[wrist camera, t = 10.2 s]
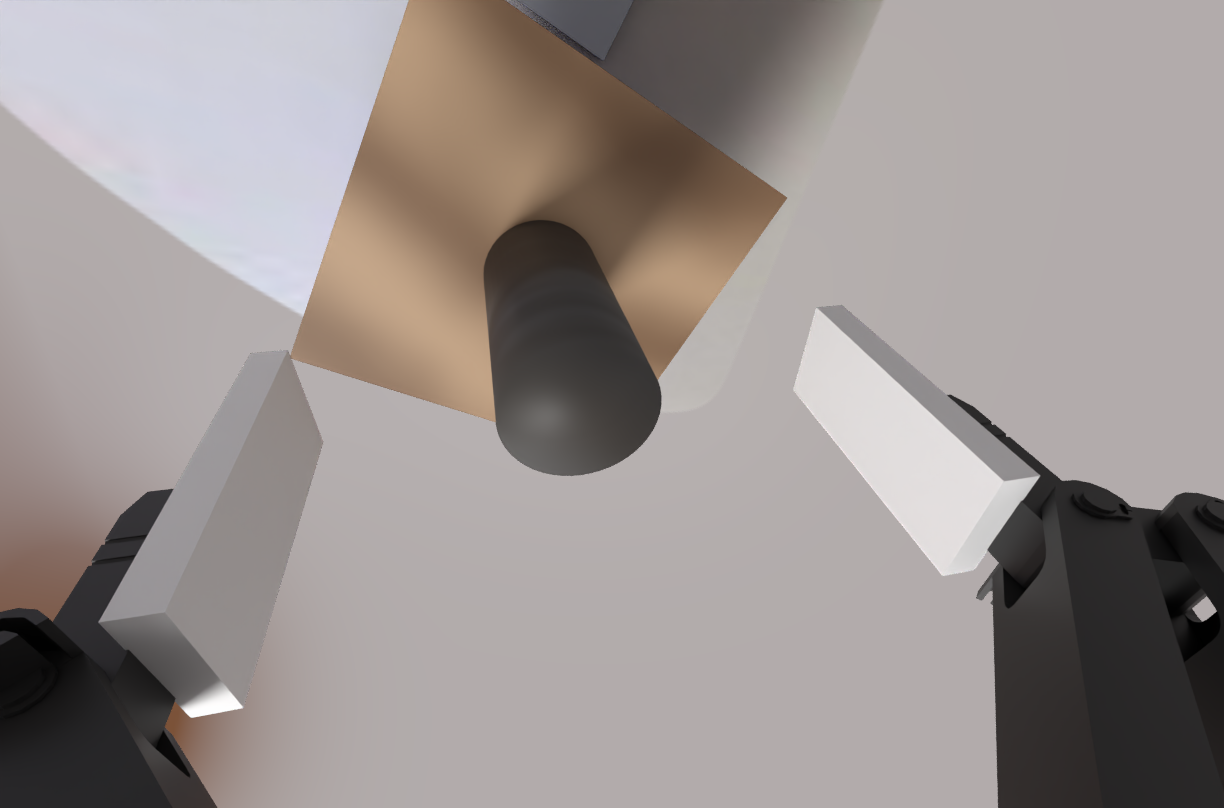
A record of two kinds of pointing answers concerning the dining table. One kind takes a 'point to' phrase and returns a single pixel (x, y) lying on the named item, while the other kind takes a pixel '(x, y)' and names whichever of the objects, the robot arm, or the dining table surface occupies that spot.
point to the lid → (525, 238)
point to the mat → (584, 20)
